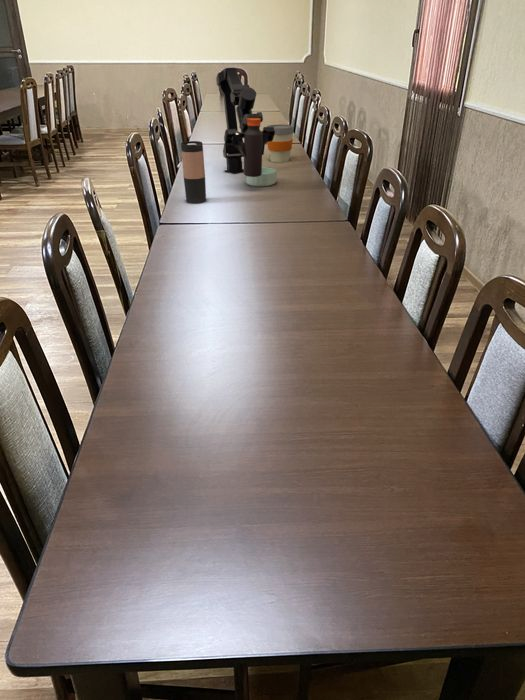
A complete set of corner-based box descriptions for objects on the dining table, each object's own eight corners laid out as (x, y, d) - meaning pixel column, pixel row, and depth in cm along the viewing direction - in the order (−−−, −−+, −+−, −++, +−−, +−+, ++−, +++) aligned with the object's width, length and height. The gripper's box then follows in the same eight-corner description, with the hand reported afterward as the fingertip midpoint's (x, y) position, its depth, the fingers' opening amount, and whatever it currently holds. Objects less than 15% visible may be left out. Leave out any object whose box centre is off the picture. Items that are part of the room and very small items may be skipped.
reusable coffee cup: (267, 157, 260) (267, 124, 253) (293, 157, 259) (294, 124, 252) (265, 163, 250) (264, 128, 242) (292, 163, 248) (292, 128, 241)
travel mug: (186, 198, 199) (181, 141, 188) (206, 197, 199) (202, 140, 189) (185, 204, 192) (179, 145, 182) (206, 203, 193) (202, 144, 182)
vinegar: (240, 174, 205) (240, 117, 194) (254, 171, 209) (255, 116, 198) (251, 178, 201) (252, 120, 190) (265, 175, 204) (267, 119, 194)
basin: (239, 184, 216) (239, 171, 214) (259, 178, 224) (259, 166, 221) (262, 188, 209) (262, 175, 207) (282, 182, 217) (282, 169, 214)
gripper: (224, 105, 193) (231, 143, 190) (273, 102, 197) (282, 139, 194) (220, 125, 204) (228, 161, 200) (268, 122, 208) (276, 158, 205)
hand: (253, 155), depth 200 cm, fingers closed on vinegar, 7 cm apart
